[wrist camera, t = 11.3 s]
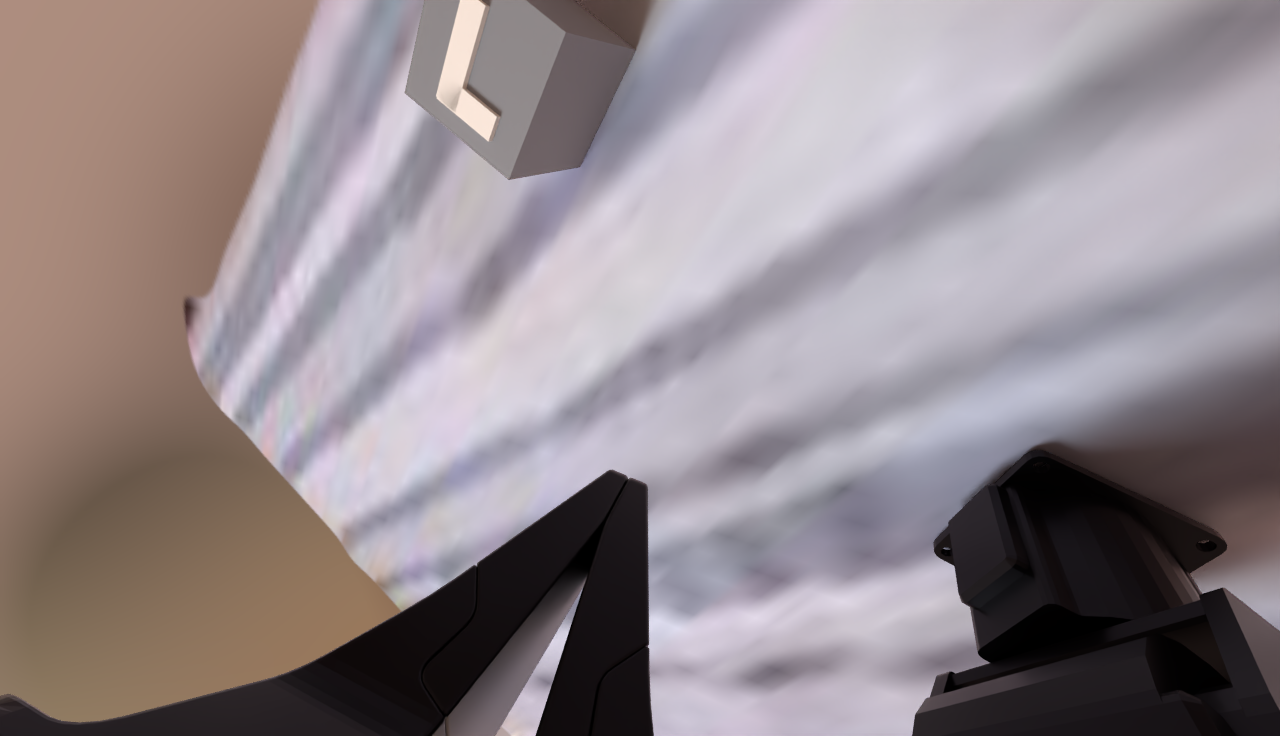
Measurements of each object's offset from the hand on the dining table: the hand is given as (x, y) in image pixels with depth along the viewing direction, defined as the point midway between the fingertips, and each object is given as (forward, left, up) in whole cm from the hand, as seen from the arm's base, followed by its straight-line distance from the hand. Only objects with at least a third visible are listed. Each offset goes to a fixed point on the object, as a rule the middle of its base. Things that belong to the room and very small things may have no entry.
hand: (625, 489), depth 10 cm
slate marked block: (+11, -5, -13) cm, 18 cm away
